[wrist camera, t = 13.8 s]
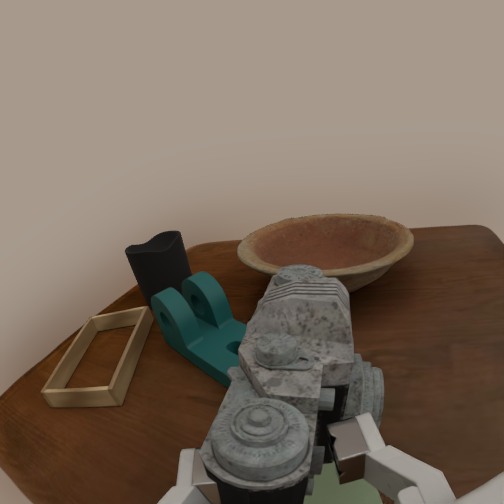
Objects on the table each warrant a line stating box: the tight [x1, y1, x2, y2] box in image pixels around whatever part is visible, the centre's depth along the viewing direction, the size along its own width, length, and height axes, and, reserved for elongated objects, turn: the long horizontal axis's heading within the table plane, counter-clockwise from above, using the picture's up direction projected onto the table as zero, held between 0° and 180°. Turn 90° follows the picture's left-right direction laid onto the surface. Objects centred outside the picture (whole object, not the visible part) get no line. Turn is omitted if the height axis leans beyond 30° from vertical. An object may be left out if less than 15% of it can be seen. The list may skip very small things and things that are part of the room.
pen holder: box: [125, 231, 192, 307], centre depth 51 cm, size 9×9×10 cm
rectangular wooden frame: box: [41, 306, 154, 407], centre depth 37 cm, size 11×18×2 cm, turn 3°
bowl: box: [237, 214, 414, 293], centre depth 43 cm, size 24×24×8 cm
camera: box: [199, 265, 384, 504], centre depth 14 cm, size 15×7×10 cm, turn 167°
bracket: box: [151, 271, 247, 389], centre depth 33 cm, size 18×7×8 cm, turn 42°
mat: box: [303, 461, 383, 504], centre depth 16 cm, size 10×10×1 cm
